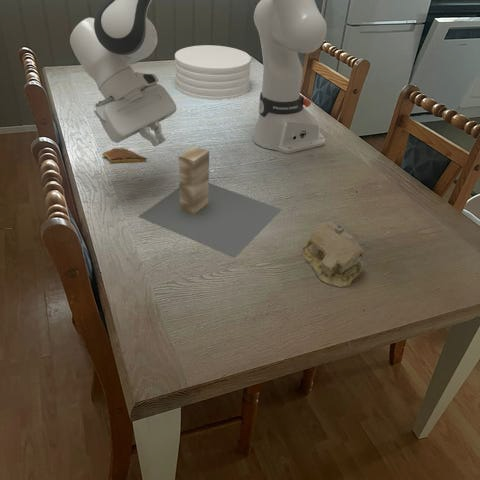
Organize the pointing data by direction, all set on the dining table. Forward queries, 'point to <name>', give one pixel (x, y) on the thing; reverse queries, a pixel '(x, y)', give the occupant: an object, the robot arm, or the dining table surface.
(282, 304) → the dining table surface
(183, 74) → the plate stack
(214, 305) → the dining table surface
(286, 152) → the robot arm
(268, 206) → the rubber mat
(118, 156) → the shard
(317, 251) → the ceramic model
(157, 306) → the dining table surface
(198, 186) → the birch block
